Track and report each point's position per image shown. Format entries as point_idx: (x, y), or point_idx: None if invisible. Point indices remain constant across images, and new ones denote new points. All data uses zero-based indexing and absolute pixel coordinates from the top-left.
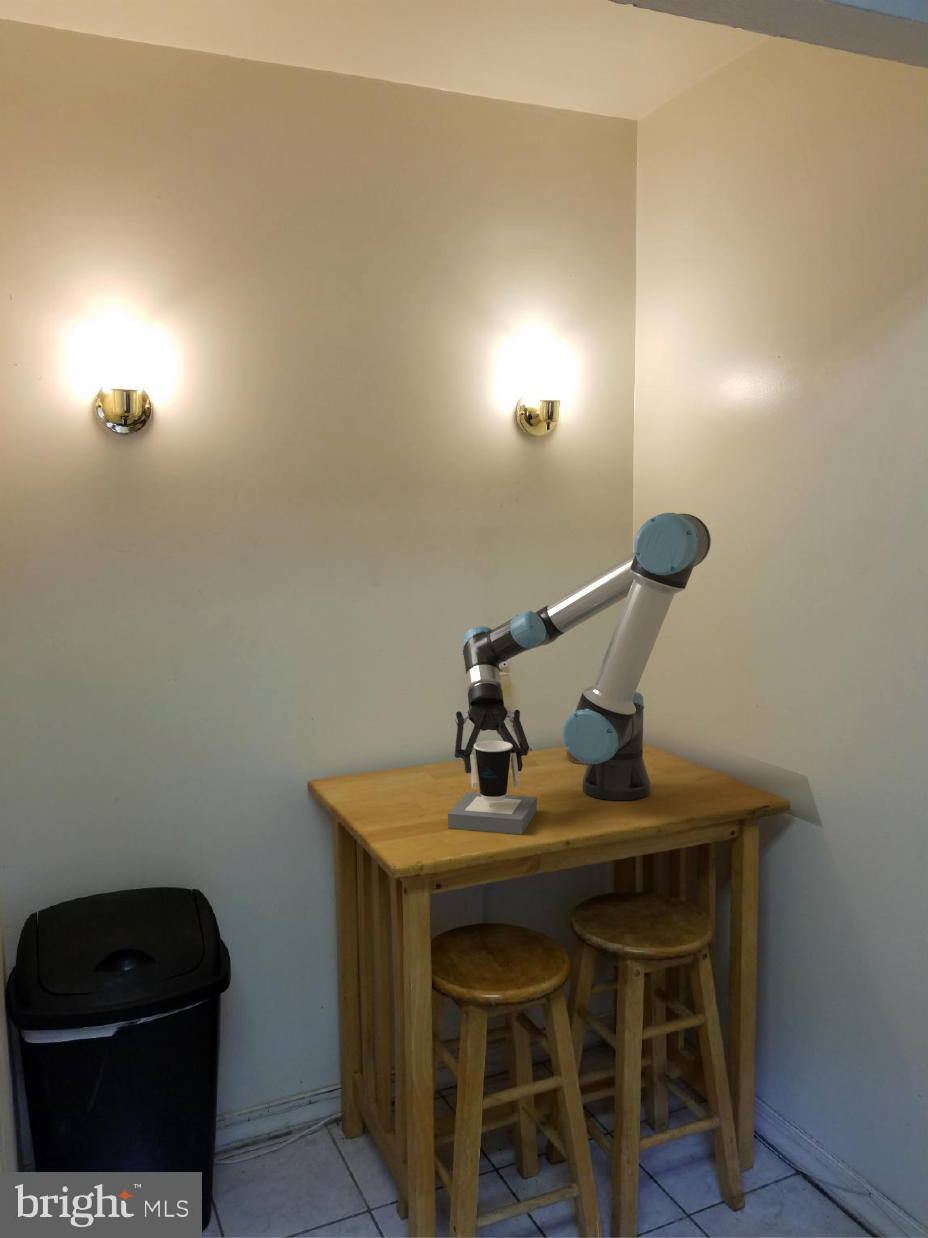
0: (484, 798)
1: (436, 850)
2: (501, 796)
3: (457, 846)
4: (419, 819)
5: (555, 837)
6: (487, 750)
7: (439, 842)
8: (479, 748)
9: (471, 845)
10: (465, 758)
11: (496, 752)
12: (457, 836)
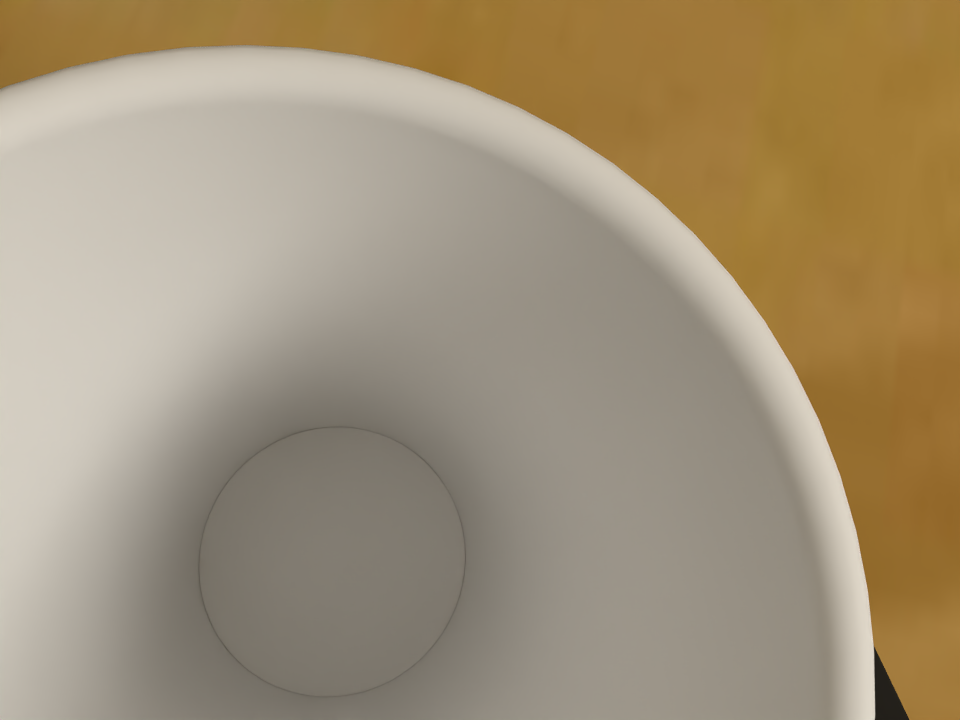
0: (451, 500)
1: (860, 45)
2: (277, 432)
3: (726, 69)
4: (918, 693)
5: (12, 25)
6: (580, 142)
7: (827, 170)
8: (770, 356)
9: (636, 59)
10: (882, 697)
11: (330, 124)
12: None
